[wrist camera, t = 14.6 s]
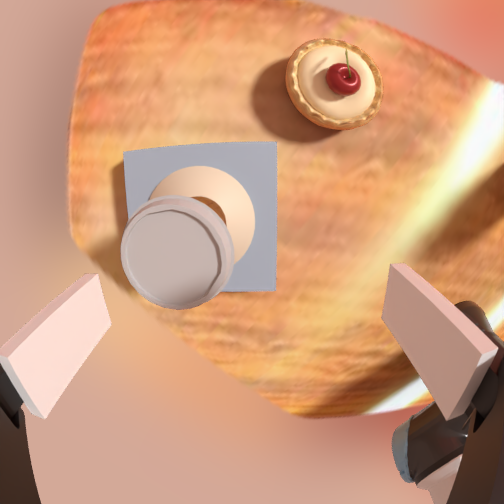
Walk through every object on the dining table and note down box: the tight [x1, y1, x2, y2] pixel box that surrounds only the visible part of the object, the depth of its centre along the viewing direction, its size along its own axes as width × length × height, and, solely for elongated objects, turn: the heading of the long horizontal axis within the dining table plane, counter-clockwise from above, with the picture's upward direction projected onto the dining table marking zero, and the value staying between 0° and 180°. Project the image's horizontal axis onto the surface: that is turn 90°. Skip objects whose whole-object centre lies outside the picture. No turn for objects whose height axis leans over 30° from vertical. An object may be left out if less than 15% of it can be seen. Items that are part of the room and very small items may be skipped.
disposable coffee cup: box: [121, 195, 234, 310], centre depth 26 cm, size 10×10×12 cm
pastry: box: [285, 38, 383, 130], centre depth 27 cm, size 12×12×9 cm
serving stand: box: [123, 142, 277, 292], centre depth 34 cm, size 18×18×4 cm
